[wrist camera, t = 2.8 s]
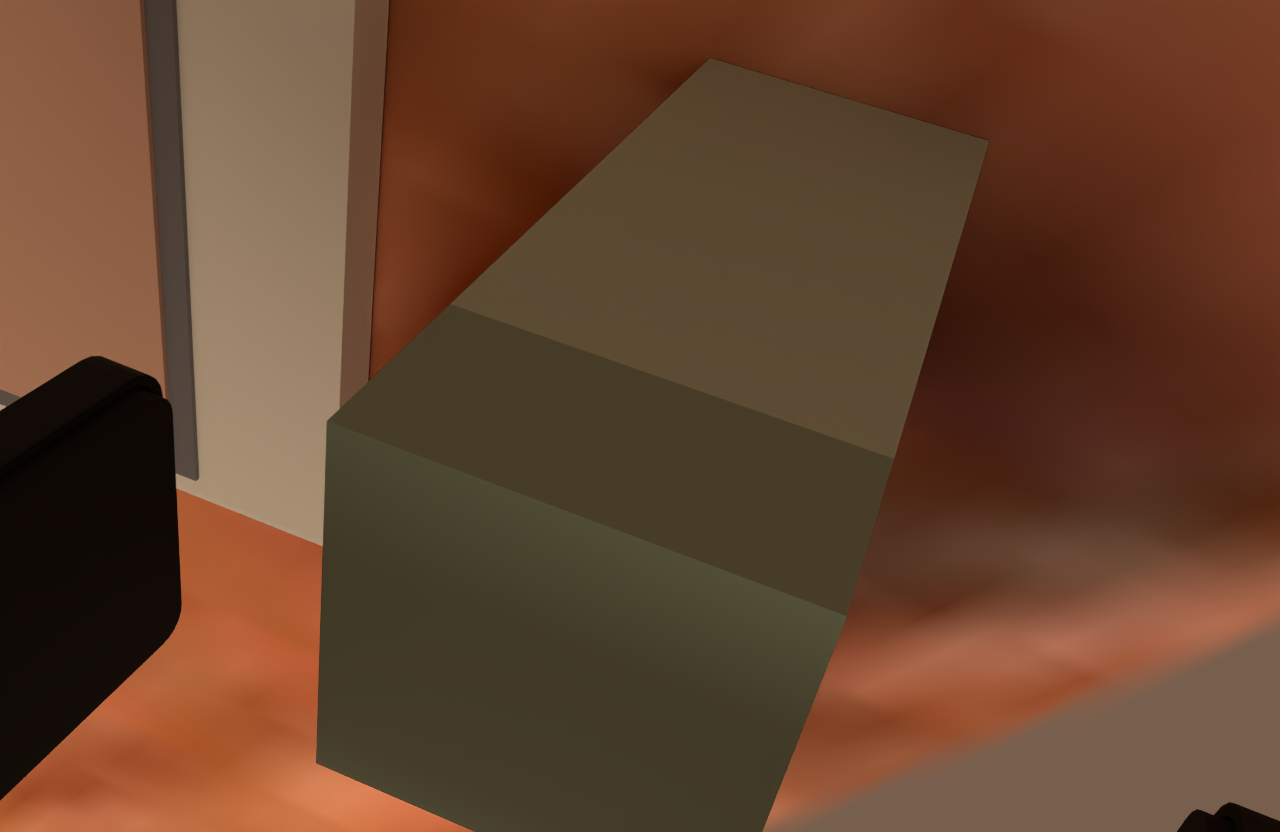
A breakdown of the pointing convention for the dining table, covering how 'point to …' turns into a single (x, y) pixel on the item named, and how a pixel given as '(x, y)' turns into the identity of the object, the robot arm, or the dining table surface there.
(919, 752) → the dining table surface
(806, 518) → the sage block
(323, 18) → the picture board
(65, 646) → the robot arm
